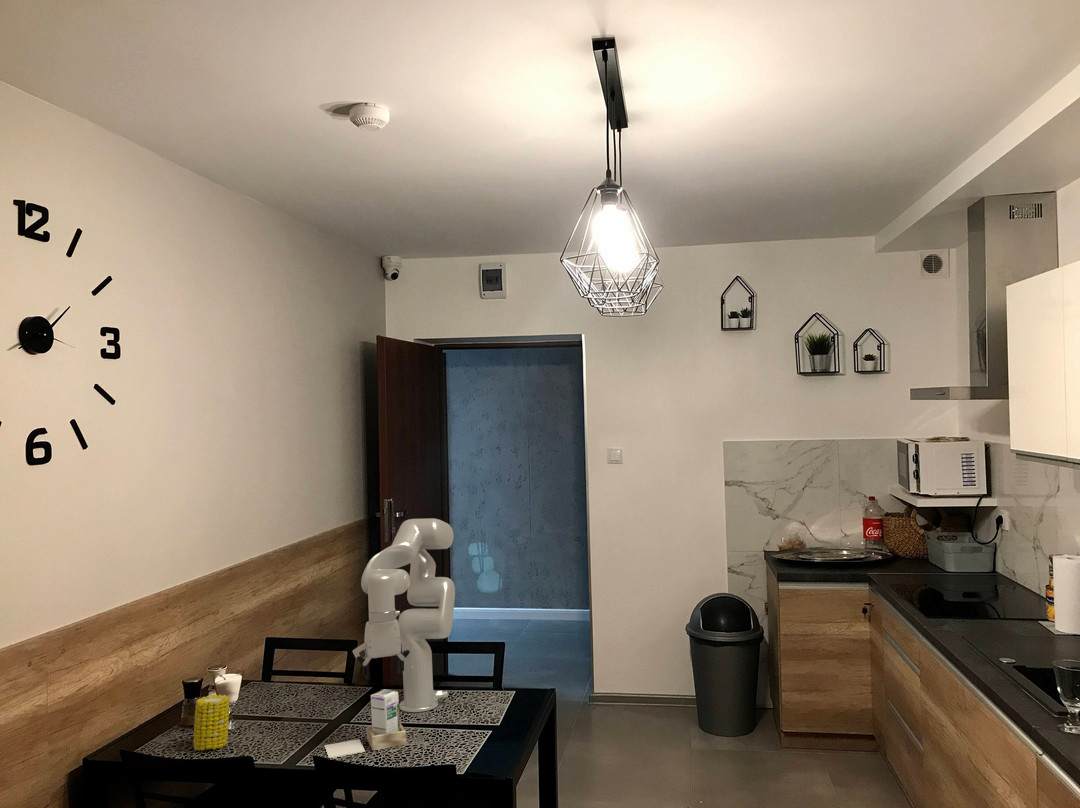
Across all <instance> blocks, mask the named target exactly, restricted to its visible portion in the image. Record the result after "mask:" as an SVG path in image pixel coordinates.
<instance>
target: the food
mask: <svg viewBox="0 0 1080 808" xmlns="http://www.w3.org/2000/svg"><path fill="white" fill-rule="evenodd" d="M194 711H195V712H194V717H193V718H194V723H193V726H194V728H193V731H194V732H193V740H192V742H193V749H194V750H195V751H196V750H197V751H205V750H211V749H212V750H216V749H218V750H219V748H220V749H222V748H224V747H225V746H226V745H227V744H228V739H229V738H228V736H229V731H228V730H229V724H230V723H229V722H230V721H229V719H230V718H229V716H230V697H229V696H228V695H226V694H222V695H221V694H216V693H214V694H212V695H211V694H209V695H207V696H202V697H201V698H198V699H197V700H196V702H195V710H194ZM223 746H224V747H223ZM221 747H222V748H221Z"/></svg>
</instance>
